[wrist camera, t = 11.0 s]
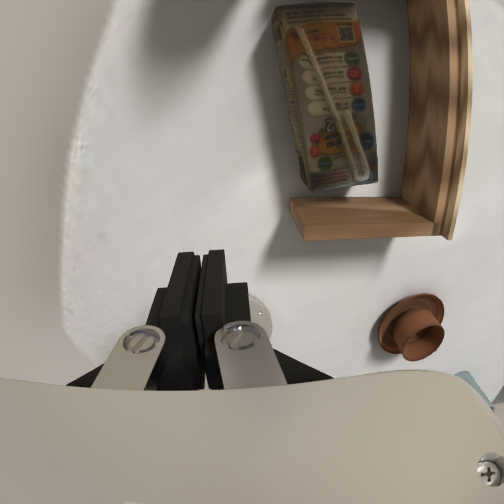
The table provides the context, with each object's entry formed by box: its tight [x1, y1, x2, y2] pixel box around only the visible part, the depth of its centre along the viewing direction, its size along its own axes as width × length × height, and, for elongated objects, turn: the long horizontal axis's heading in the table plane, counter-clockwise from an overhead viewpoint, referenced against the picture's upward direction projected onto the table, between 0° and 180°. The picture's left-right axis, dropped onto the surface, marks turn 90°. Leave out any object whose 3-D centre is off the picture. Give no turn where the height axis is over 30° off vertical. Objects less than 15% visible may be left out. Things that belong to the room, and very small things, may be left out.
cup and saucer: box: [378, 293, 444, 361], centre depth 44 cm, size 12×12×6 cm
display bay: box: [290, 0, 473, 241], centre depth 27 cm, size 29×16×9 cm, turn 1°
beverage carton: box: [271, 3, 378, 192], centre depth 28 cm, size 8×19×6 cm, turn 11°
